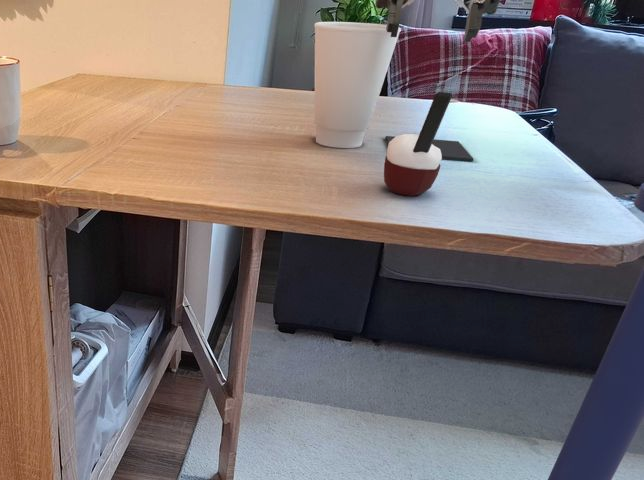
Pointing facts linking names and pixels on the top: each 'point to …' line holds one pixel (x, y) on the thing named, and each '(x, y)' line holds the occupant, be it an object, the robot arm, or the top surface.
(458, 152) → the coaster
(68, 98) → the top surface
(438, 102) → the cocoa
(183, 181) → the top surface
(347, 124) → the cup
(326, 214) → the top surface
